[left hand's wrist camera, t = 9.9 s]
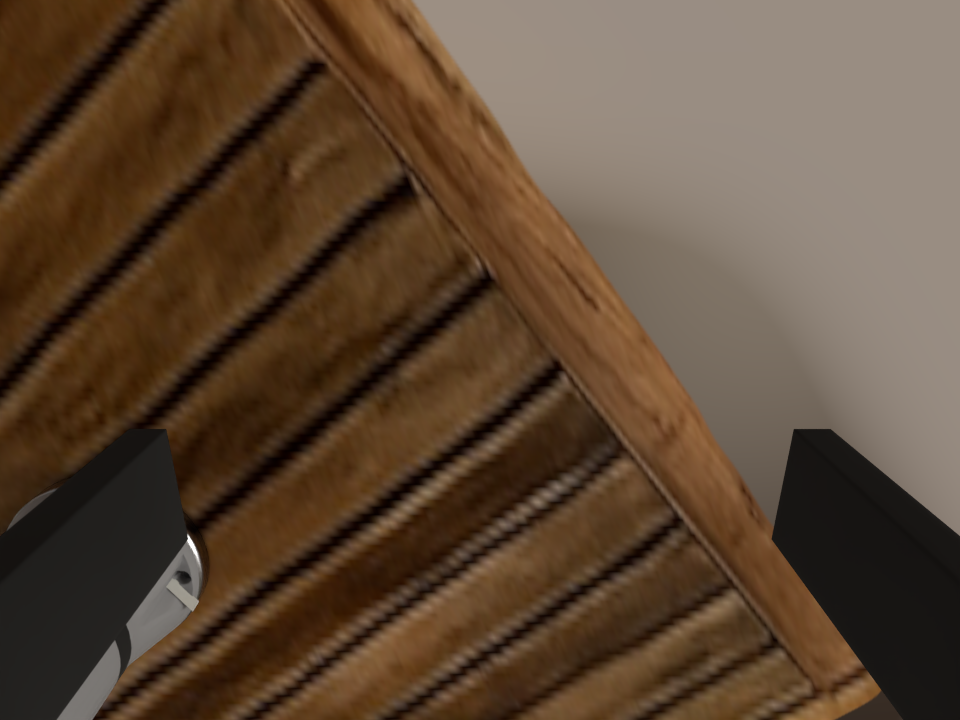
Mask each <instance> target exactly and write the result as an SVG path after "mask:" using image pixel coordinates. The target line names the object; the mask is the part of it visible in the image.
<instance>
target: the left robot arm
mask: <svg viewBox="0 0 960 720" xmlns="http://www.w3.org/2000/svg"><path fill="white" fill-rule="evenodd" d="M772 540H773V542H774V543H775V545H776V546H777V547H778V549H779V550H780V551H781V553H782V554H783V555H784V557H785V558H786V560H787V561H788V562H789V564H790V565H791V566H792V568H793V569H794V571H795V572H796V573H797V575H798V576H799V577H800V579H801V580H802V582H803V583H804V584H805V586H806V587H807V588H808V590H809V591H810V593H811V594H812V595H813V597H814V598H815V599H816V601H817V602H818V603H819V605H820V606H821V608H822V609H823V610H824V612H825V613H826V614H827V616H828V617H829V619H830V620H831V621H832V623H833V624H834V625H835V627H836V628H837V630H838V631H839V632H840V634H841V635H842V636H843V638H844V639H845V641H846V642H847V643H848V645H849V646H850V647H851V649H852V650H853V652H854V653H855V654H856V656H857V657H858V658H859V660H860V661H861V662H862V664H863V665H864V667H865V668H866V669H867V671H868V672H869V673H870V675H871V676H872V678H873V679H874V680H875V682H876V683H877V684H878V686H879V687H880V689H881V690H882V691H883V693H884V694H885V695H886V697H887V698H888V699H889V701H890V702H891V704H892V705H893V706H894V708H895V709H896V710H897V712H898V713H899V715H900V716H901V717H902V719H903V720H960V536H959V535H958V534H957V533H955V532H954V531H953V530H952V529H951V528H949V527H948V526H947V525H946V524H945V523H943V522H942V521H941V520H940V519H938V518H937V517H936V516H935V515H934V514H932V513H931V512H930V511H929V510H928V509H926V508H925V507H924V506H923V505H922V504H920V503H919V502H918V501H917V500H915V499H914V498H913V497H912V496H911V495H909V494H908V493H907V492H906V491H905V490H903V489H902V488H901V487H900V486H899V485H897V484H896V483H895V482H894V481H893V480H891V479H890V478H889V477H888V476H887V475H885V474H884V473H883V472H882V471H880V470H879V469H878V468H877V467H876V466H874V465H873V464H872V463H871V462H870V461H868V460H867V459H866V458H865V457H864V456H862V455H861V454H860V453H859V452H858V451H856V450H855V449H854V448H853V447H851V446H850V445H849V444H848V443H847V442H845V441H844V440H843V439H842V438H841V437H839V436H838V435H837V434H836V433H835V432H833V431H832V430H831V429H794V431H793V436H792V441H791V446H790V451H789V456H788V461H787V466H786V471H785V476H784V481H783V485H782V491H781V495H780V501H779V505H778V510H777V515H776V520H775V525H774V530H773V535H772ZM208 575H209V558H208V553H207V549H206V546H205V543H204V541H203V538H202V536H201V534H200V533H199V531H198V529H197V527H196V526H195V525H194V523H193V522H192V520H191V519H190V518H189V517H188V516H187V515H186V514H185V513H184V512H183V510H182V505H181V500H180V495H179V490H178V485H177V481H176V476H175V471H174V466H173V461H172V456H171V451H170V446H169V441H168V436H167V431H166V429H129V430H128V431H127V432H125V433H124V434H123V435H122V436H121V437H119V438H118V439H117V440H116V441H115V442H113V443H112V444H111V445H110V446H109V447H107V448H106V449H105V450H104V451H102V452H101V453H100V454H99V455H98V456H96V457H95V458H94V459H93V460H92V461H90V462H89V463H88V464H87V465H86V466H84V467H83V468H82V469H81V470H80V471H78V472H77V473H76V474H75V475H73V476H72V477H71V478H69V479H65V480H62V481H60V482H57V483H55V484H53V485H51V486H50V487H48V488H46V489H45V490H44V491H42V492H41V493H40V494H38V495H37V496H36V497H35V498H33V499H32V500H31V501H30V502H28V503H27V504H26V505H25V506H24V507H23V508H22V509H21V510H20V511H19V512H18V513H17V514H16V516H15V517H14V519H13V520H12V522H11V524H10V525H9V527H8V529H7V531H6V532H5V533H3V534H2V535H1V536H0V720H92V719H93V718H94V716H95V715H96V713H97V712H98V710H99V709H100V707H101V706H102V704H103V703H104V701H105V700H106V698H107V697H108V695H109V694H110V692H111V691H112V689H113V688H114V686H115V684H116V683H117V681H118V680H119V678H120V677H121V675H122V674H123V672H124V671H125V669H126V668H127V667H128V666H129V665H130V664H131V663H132V662H134V661H135V660H136V659H137V658H139V657H140V656H141V655H142V654H144V653H145V652H146V651H147V650H149V649H150V648H151V647H152V646H154V645H155V644H156V643H157V642H159V641H160V640H161V639H162V638H164V637H165V636H166V635H167V634H169V633H170V632H171V631H172V630H174V629H175V628H176V627H177V626H179V625H180V624H181V623H182V622H183V621H184V620H185V619H186V618H187V617H188V615H189V614H190V613H191V611H193V610H194V609H195V607H196V606H197V604H198V602H199V601H198V600H199V598H200V597H201V595H202V593H203V591H204V589H205V587H206V584H207V580H208Z"/></svg>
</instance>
